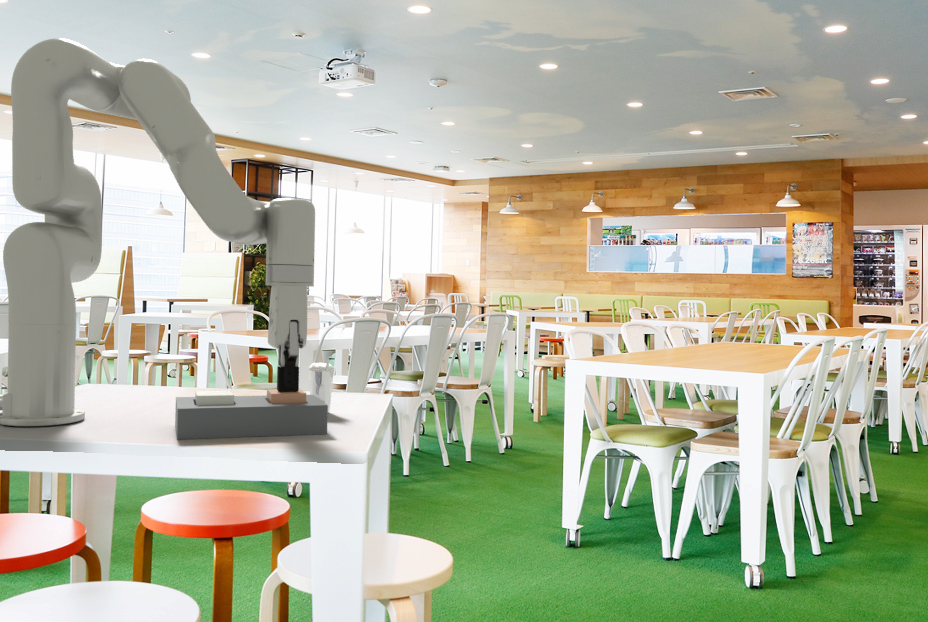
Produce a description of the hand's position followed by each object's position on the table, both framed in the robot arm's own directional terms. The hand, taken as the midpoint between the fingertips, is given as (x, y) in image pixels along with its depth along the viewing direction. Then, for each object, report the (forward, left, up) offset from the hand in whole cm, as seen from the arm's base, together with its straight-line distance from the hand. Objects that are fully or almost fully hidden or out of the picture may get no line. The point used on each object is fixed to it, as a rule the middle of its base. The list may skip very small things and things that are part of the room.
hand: (287, 391), depth 127 cm
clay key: (0, 0, -4) cm, 4 cm away
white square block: (-11, 0, -4) cm, 12 cm away
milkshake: (+8, +14, -6) cm, 17 cm away
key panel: (-6, 0, -6) cm, 8 cm away
